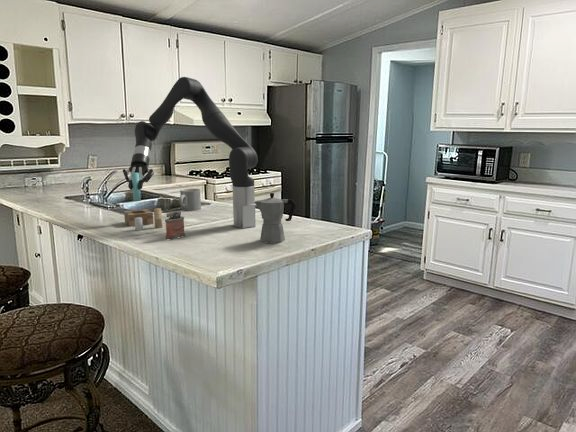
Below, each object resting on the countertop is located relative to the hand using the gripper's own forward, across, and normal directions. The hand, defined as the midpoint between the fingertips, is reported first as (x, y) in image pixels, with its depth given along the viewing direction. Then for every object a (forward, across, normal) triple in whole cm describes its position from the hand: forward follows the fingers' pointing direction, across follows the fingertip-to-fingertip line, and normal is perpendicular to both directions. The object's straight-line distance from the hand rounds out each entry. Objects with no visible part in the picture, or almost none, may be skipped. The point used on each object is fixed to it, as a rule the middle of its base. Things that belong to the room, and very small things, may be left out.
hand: (134, 188), depth 185 cm
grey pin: (+19, +4, +3) cm, 19 cm away
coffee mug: (-11, +16, +34) cm, 39 cm away
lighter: (+28, +22, -6) cm, 36 cm away
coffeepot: (+33, +60, -10) cm, 69 cm away
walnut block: (+10, 0, +12) cm, 16 cm away
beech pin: (+16, +11, +6) cm, 20 cm away
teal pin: (+2, 0, +5) cm, 6 cm away
